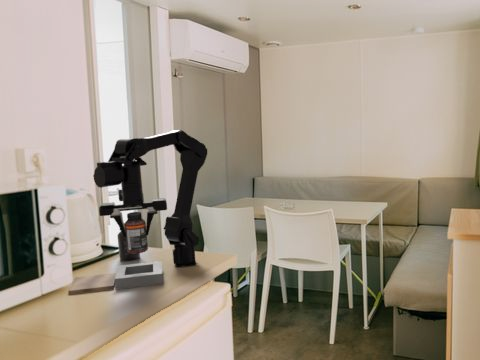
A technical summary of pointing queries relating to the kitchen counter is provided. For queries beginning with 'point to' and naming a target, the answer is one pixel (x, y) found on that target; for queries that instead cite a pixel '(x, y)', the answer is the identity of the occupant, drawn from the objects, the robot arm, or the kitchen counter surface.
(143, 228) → the supplement bottle
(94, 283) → the walnut board
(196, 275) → the kitchen counter surface
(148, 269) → the block
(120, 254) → the supplement bottle
